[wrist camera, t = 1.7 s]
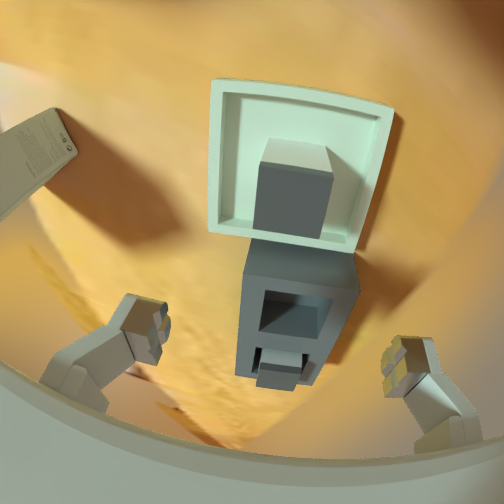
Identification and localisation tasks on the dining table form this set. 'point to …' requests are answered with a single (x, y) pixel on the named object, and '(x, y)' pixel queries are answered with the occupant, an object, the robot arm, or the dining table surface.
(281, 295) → the grey socket block
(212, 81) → the tray
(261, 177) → the plug
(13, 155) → the skincare box
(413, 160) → the dining table surface
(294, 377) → the twin plug
